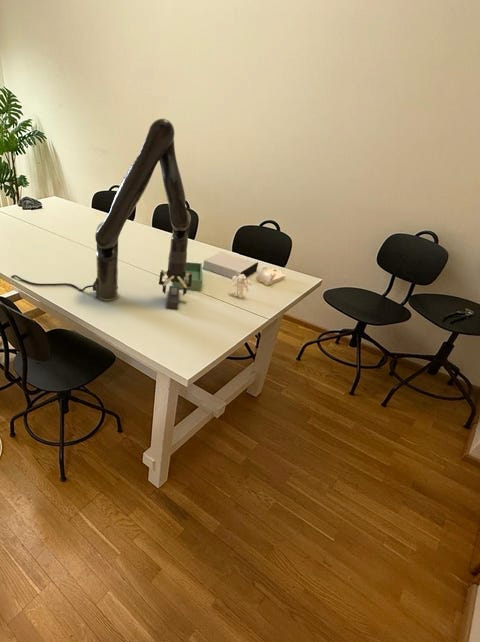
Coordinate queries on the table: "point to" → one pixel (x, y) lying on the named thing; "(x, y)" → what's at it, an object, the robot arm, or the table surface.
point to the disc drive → (230, 265)
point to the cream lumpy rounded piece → (269, 275)
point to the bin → (196, 276)
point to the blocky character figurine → (240, 284)
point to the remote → (173, 297)
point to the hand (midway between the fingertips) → (174, 293)
